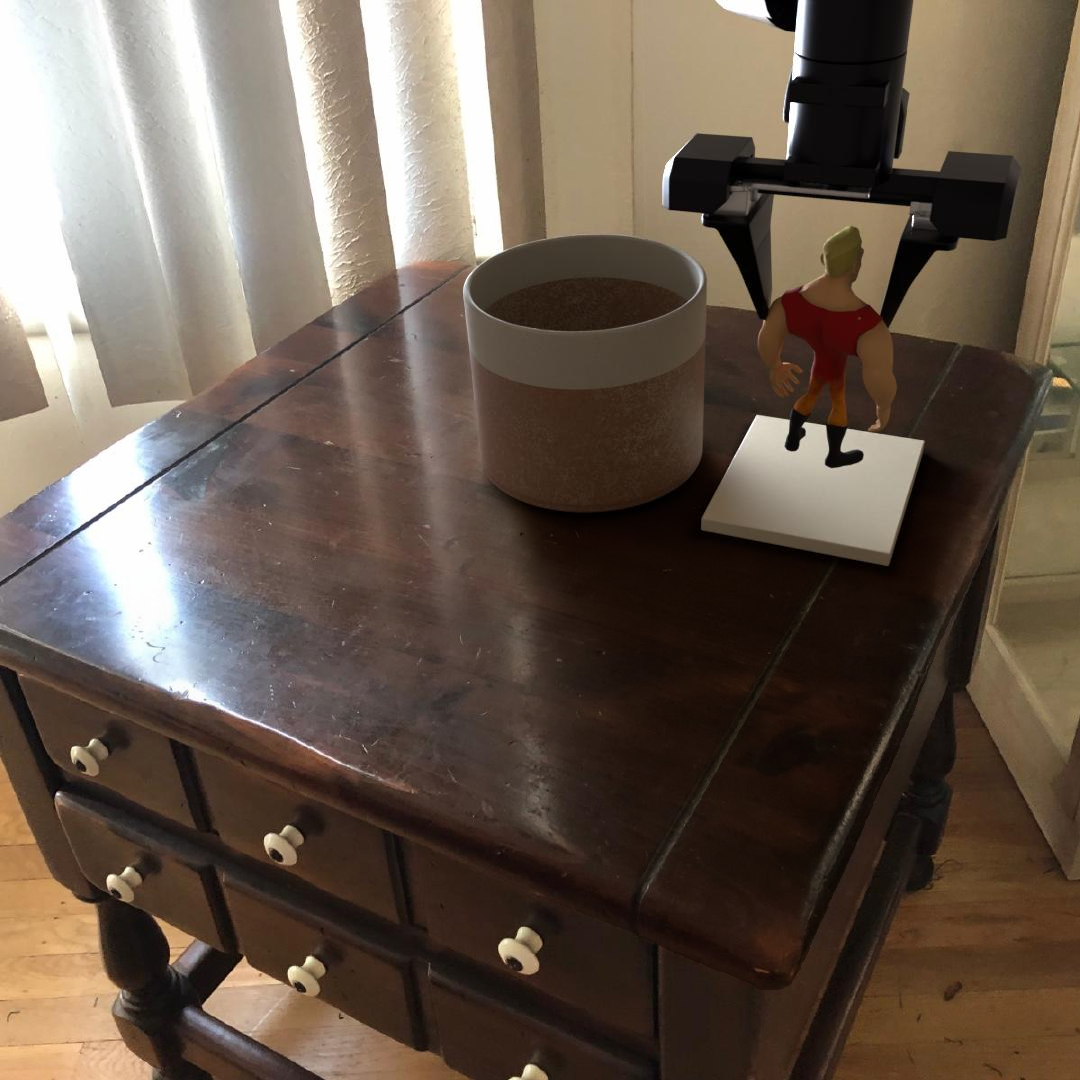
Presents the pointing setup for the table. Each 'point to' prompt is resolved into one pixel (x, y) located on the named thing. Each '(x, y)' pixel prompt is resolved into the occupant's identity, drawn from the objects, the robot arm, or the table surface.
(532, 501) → the planter
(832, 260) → the action figure
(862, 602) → the table surface
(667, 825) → the table surface
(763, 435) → the display board
